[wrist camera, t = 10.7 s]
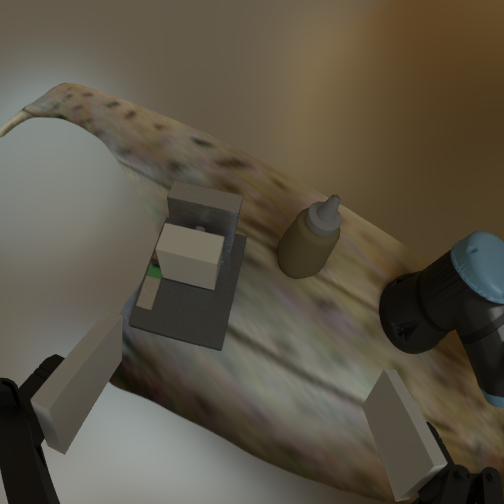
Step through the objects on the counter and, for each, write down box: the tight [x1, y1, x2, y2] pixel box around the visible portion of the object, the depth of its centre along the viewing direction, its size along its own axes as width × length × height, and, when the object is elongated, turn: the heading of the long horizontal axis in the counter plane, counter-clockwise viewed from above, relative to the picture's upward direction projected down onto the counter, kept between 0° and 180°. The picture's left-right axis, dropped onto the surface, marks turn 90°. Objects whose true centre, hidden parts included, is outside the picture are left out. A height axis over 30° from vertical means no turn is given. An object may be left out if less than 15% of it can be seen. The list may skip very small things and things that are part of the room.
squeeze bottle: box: [277, 195, 341, 279], centre depth 43 cm, size 8×8×18 cm
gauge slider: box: [151, 223, 225, 290], centre depth 42 cm, size 10×7×9 cm, turn 79°
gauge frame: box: [129, 181, 247, 351], centre depth 41 cm, size 14×19×12 cm
